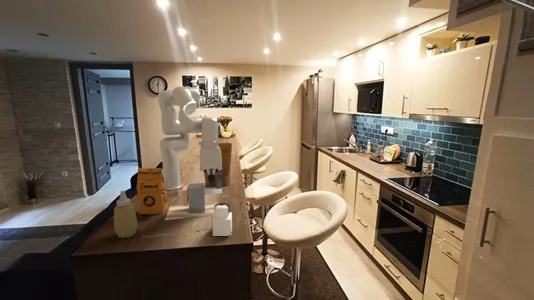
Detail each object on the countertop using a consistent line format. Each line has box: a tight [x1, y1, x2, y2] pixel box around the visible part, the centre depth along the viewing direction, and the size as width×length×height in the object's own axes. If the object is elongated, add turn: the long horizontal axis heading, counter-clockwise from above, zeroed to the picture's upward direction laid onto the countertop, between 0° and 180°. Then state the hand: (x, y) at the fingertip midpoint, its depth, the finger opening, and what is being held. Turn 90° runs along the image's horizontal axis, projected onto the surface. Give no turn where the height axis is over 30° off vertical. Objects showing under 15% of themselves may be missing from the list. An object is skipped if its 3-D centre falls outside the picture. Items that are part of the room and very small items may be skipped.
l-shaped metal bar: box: [177, 173, 223, 197], centre depth 117 cm, size 2×20×10 cm, turn 104°
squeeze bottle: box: [113, 190, 138, 239], centre depth 96 cm, size 8×8×18 cm
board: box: [164, 201, 220, 221], centre depth 118 cm, size 16×24×1 cm, turn 104°
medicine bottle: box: [211, 202, 233, 237], centre depth 98 cm, size 7×7×12 cm
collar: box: [181, 184, 189, 206], centre depth 116 cm, size 7×2×7 cm, turn 14°
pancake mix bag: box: [200, 142, 233, 188], centre depth 155 cm, size 7×19×28 cm, turn 100°
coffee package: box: [136, 167, 169, 216], centre depth 116 cm, size 10×12×22 cm
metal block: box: [188, 182, 206, 214], centre depth 117 cm, size 8×7×12 cm
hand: (211, 182), depth 118 cm, fingers closed
